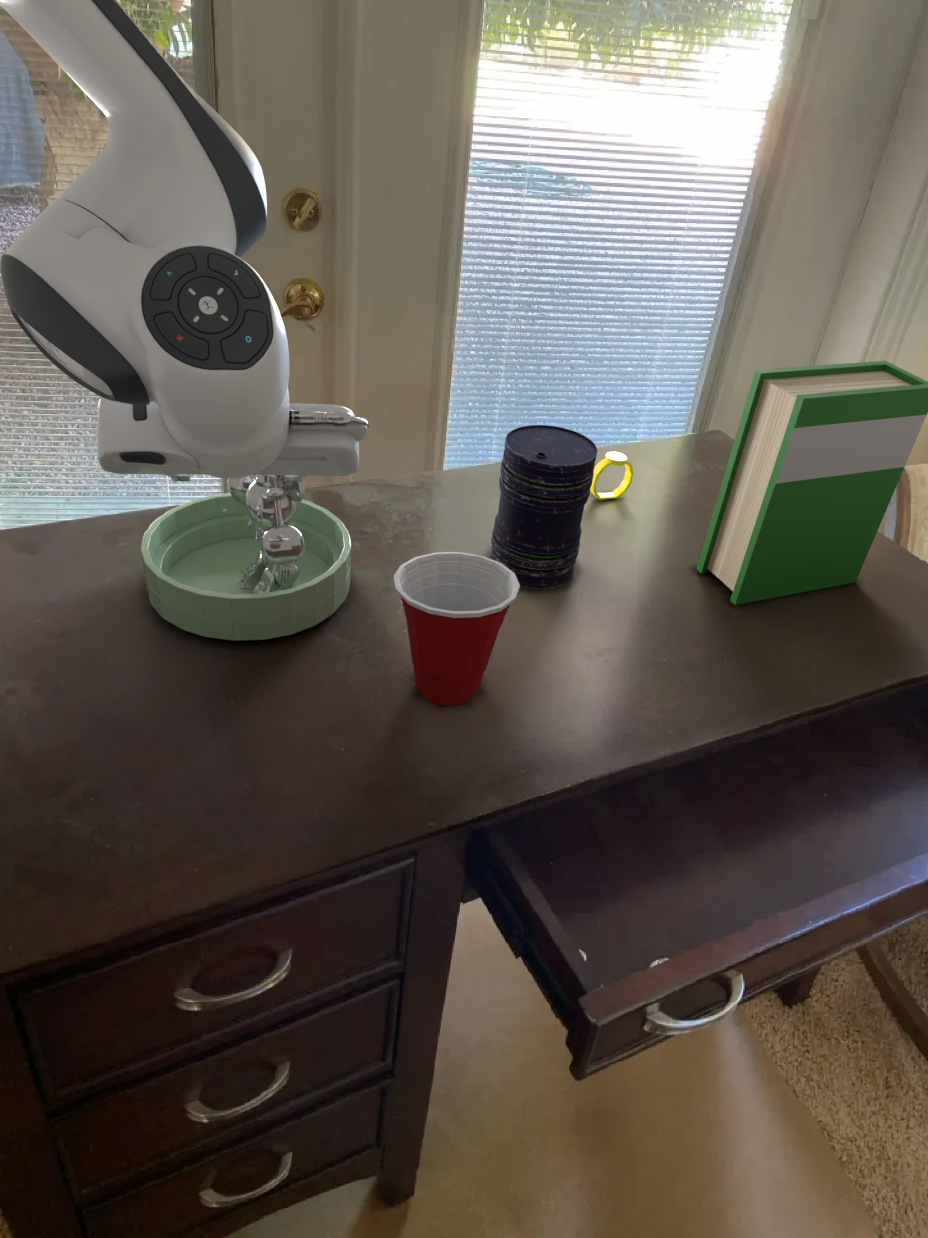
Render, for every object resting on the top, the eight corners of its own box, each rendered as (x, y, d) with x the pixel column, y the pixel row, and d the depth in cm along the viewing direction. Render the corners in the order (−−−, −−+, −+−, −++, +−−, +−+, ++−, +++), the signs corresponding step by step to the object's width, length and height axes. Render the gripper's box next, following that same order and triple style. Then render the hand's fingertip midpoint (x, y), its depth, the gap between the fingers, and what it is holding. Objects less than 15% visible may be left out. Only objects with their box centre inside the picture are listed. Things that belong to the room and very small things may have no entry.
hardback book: (735, 604, 98) (803, 398, 84) (696, 569, 103) (755, 369, 89) (855, 582, 104) (938, 386, 90) (813, 549, 110) (885, 360, 96)
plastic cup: (479, 641, 88) (492, 537, 81) (522, 712, 80) (540, 604, 73) (373, 657, 85) (378, 550, 78) (407, 733, 77) (415, 622, 70)
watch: (593, 505, 114) (601, 463, 110) (581, 495, 116) (589, 453, 112) (631, 499, 116) (641, 457, 113) (619, 489, 118) (628, 448, 115)
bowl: (136, 649, 82) (128, 600, 79) (158, 535, 99) (153, 491, 95) (356, 642, 86) (357, 595, 83) (343, 534, 102) (344, 491, 99)
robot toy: (220, 550, 96) (211, 420, 88) (276, 542, 99) (273, 415, 90) (256, 627, 86) (249, 489, 77) (317, 616, 88) (318, 480, 80)
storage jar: (508, 534, 106) (525, 416, 97) (586, 558, 103) (610, 439, 94) (474, 572, 98) (489, 449, 90) (556, 600, 96) (580, 475, 87)
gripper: (369, 376, 67) (356, 440, 80) (79, 367, 63) (116, 436, 76) (372, 457, 66) (358, 508, 79) (78, 453, 62) (116, 507, 75)
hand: (238, 473), depth 77 cm, fingers open, 8 cm apart
